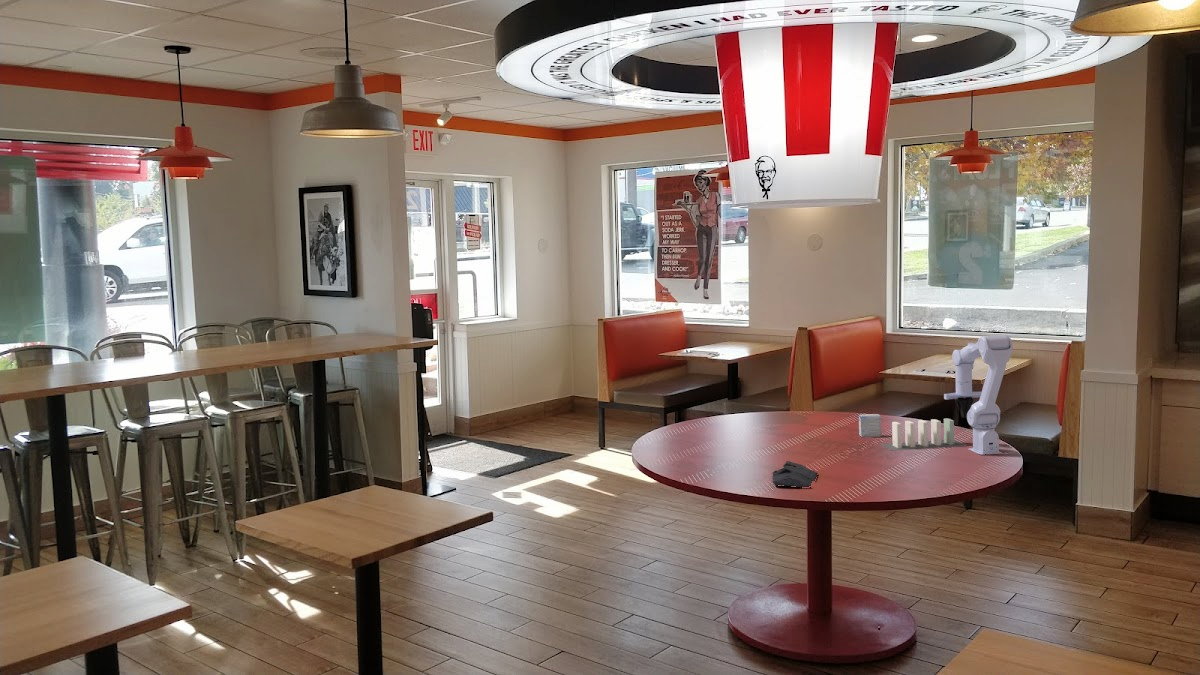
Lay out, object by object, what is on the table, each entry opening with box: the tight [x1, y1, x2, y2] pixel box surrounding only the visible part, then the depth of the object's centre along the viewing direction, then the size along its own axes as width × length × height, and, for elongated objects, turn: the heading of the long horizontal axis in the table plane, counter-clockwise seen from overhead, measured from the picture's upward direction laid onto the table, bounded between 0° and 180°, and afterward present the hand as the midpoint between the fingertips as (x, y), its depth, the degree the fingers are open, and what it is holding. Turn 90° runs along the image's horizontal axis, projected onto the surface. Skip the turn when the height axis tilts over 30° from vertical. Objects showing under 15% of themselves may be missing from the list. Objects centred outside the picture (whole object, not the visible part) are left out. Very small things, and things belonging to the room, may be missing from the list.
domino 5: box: [943, 418, 955, 445], centre depth 348 cm, size 2×5×9 cm, turn 4°
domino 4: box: [930, 418, 942, 446], centre depth 348 cm, size 2×5×9 cm, turn 4°
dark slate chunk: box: [771, 460, 819, 487], centre depth 306 cm, size 15×22×5 cm
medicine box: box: [858, 413, 882, 438], centre depth 370 cm, size 8×4×9 cm, turn 84°
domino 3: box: [917, 419, 929, 446], centre depth 348 cm, size 2×5×9 cm, turn 3°
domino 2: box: [904, 420, 916, 447], centre depth 347 cm, size 2×5×9 cm, turn 4°
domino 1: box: [891, 421, 903, 448], centre depth 347 cm, size 2×5×9 cm, turn 4°
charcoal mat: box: [879, 439, 969, 452], centre depth 348 cm, size 12×29×1 cm, turn 94°
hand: (964, 417), depth 348 cm, fingers closed
